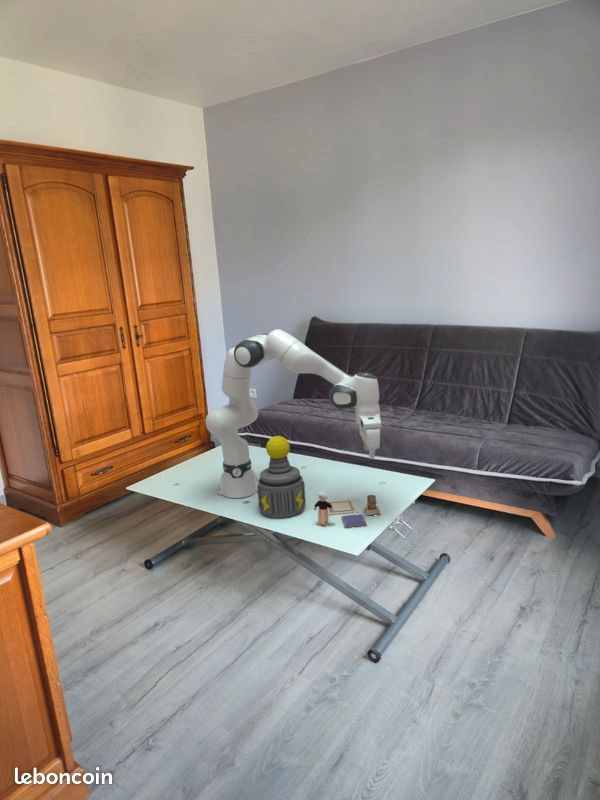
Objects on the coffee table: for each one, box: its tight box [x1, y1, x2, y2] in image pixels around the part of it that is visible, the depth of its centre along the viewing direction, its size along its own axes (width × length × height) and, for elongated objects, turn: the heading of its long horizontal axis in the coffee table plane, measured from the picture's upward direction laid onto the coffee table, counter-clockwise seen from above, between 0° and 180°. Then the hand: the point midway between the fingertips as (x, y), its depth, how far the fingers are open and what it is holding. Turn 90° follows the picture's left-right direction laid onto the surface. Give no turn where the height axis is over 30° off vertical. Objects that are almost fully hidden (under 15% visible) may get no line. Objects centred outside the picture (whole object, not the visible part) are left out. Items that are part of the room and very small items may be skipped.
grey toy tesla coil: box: [257, 435, 306, 519], centre depth 210 cm, size 19×19×30 cm
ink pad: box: [341, 513, 368, 529], centre depth 197 cm, size 8×8×1 cm
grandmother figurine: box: [313, 491, 334, 527], centre depth 196 cm, size 8×4×13 cm, turn 81°
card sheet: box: [327, 498, 359, 516], centre depth 211 cm, size 12×12×1 cm
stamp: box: [363, 494, 381, 517], centre depth 203 cm, size 5×5×7 cm
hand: (369, 453), depth 198 cm, fingers open, 8 cm apart
